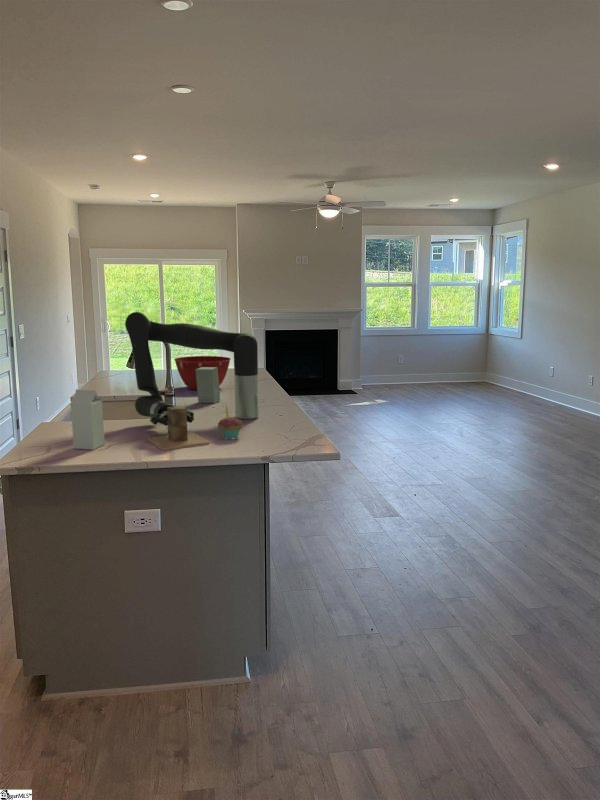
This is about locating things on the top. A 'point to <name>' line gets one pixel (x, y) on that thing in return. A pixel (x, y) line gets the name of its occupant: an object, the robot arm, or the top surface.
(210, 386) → the skincare box
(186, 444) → the wooden square board
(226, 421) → the cupcake
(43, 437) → the top surface
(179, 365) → the mixing bowl
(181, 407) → the walnut block
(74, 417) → the milk carton
